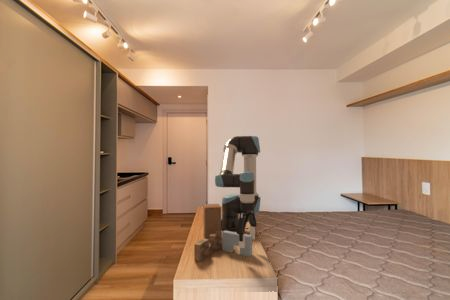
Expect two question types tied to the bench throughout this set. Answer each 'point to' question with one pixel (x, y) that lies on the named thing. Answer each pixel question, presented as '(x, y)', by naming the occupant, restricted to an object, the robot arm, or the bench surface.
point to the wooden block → (211, 219)
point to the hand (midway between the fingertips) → (247, 243)
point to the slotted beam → (207, 246)
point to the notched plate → (236, 243)
